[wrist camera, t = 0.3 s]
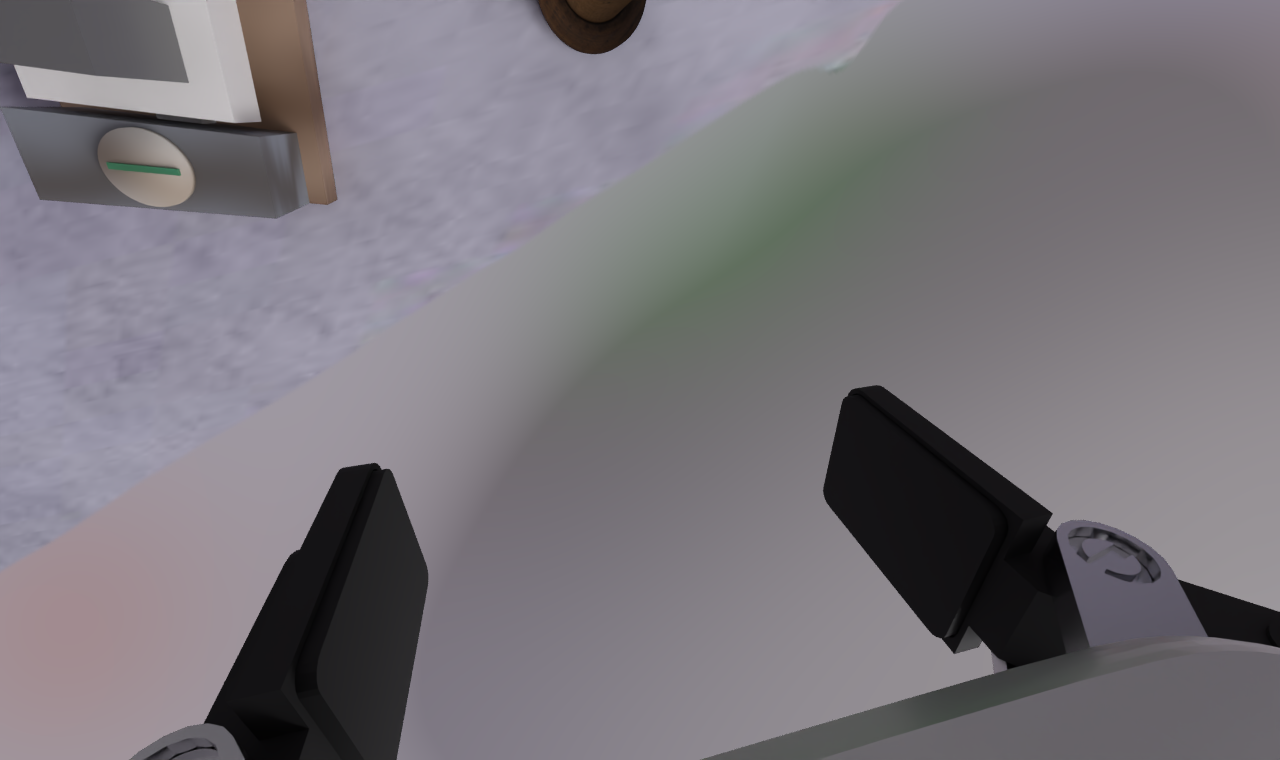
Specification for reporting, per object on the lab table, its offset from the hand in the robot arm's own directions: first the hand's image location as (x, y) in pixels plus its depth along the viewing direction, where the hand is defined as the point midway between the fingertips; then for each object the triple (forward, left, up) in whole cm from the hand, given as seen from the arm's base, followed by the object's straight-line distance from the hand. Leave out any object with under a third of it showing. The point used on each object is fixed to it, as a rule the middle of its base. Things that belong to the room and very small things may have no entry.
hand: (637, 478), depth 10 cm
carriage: (-7, -20, -26) cm, 34 cm away
